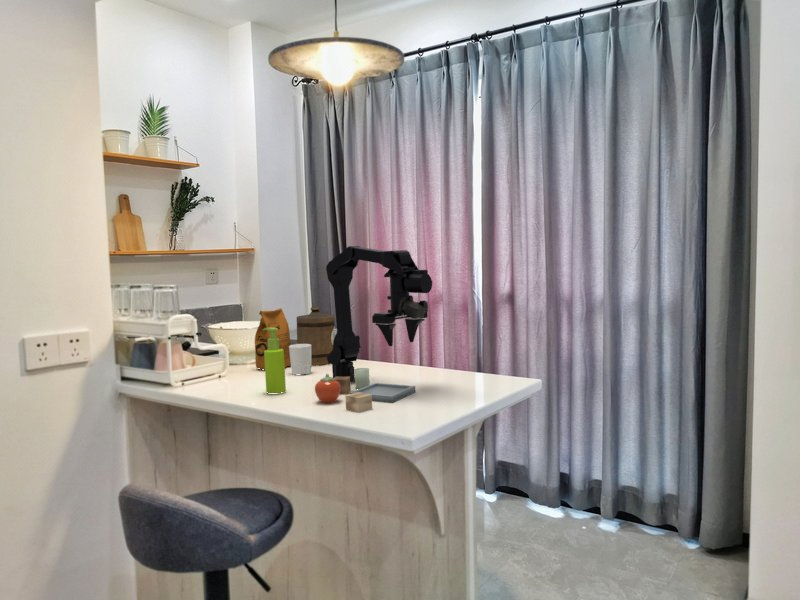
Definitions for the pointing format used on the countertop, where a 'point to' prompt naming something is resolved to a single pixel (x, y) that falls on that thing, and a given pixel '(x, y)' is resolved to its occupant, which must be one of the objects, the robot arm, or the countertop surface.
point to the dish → (386, 391)
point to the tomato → (327, 389)
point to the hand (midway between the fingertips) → (401, 344)
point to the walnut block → (344, 384)
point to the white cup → (300, 358)
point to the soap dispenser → (274, 364)
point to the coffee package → (262, 336)
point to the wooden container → (317, 334)
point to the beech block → (358, 402)
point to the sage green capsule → (361, 377)
